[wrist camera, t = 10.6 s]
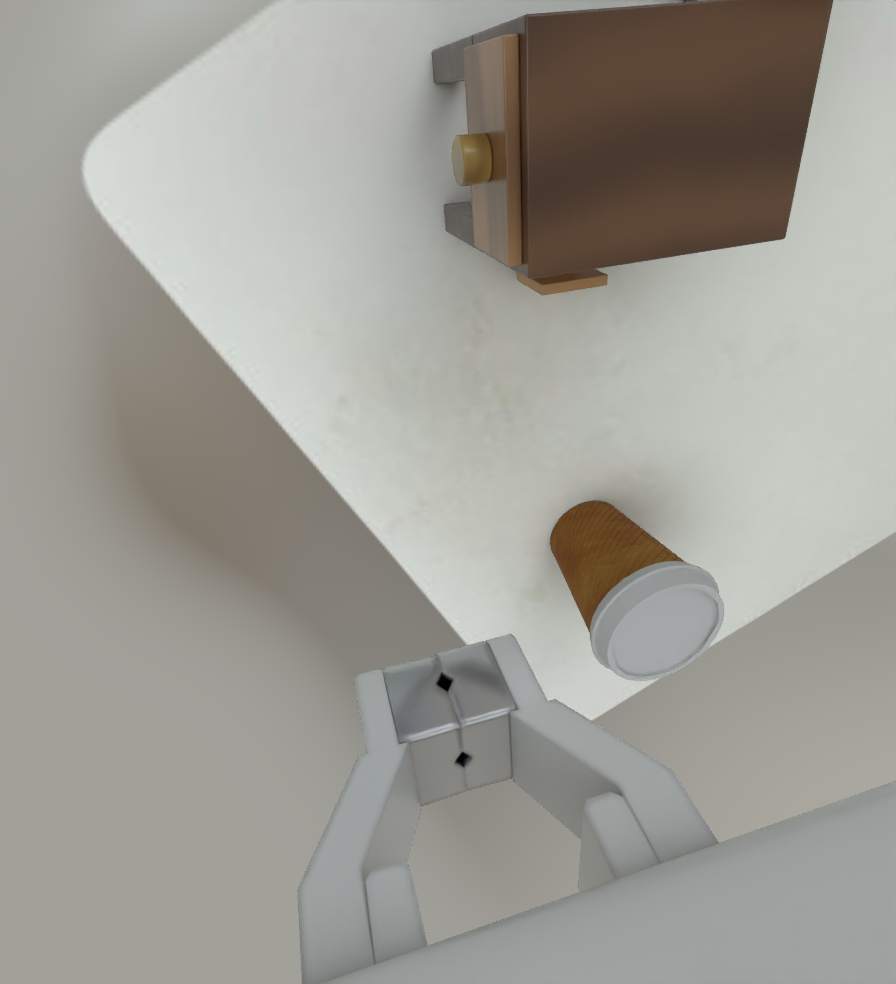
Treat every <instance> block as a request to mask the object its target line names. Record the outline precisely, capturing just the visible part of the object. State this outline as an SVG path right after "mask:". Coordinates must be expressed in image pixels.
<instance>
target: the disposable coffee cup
mask: <svg viewBox="0 0 896 984" xmlns="http://www.w3.org/2000/svg"><path fill="white" fill-rule="evenodd" d="M550 545H551V550H552V552H553V554H554V556H555V558H556V560H557V562H558V564H559V567H560V569H561V571H562V573H563V575H564V578H565V580H566V582H567V584H568V587H569V589H570V591H571V593H572V595H573V597H574V600H575V602H576V604H577V606H578V608H579V610H580V613H581V615H582V617H583V619H584V621H585V624H586V626H587V628H588V630H589V632H590V640H591V646H592V651H593V653H594V655H595V657H596V658H597V660H598V661H599V662H600V663H601V664H602V665H603V666H605V667H606V668H608V669H611V670H613V671H614V672H615V673H616V674H617V675H619V676H621V677H623V678H625V679H628V680H634V681H645V680H654V679H657V678H660V677H663V676H667V675H669V674H672V673H674V672H675V671H677V670H679V669H681V668H683V667H685V666H686V665H688V664H689V663H691V662H692V661H694V660H695V659H696V658H697V657H698V656H699V655H700V654H701V653H702V652H703V651H704V650H705V649H706V648H708V646H709V645H710V644H711V642H712V641H713V640H714V638H715V637H716V635H717V633H718V631H719V630H720V627H721V625H722V622H723V617H724V604H723V601H722V599H721V597H720V595H719V590H718V586H717V583H716V582H715V580H714V578H713V577H712V576H711V575H710V574H709V573H708V572H707V571H705V570H703V569H701V568H700V567H697V566H694V565H691V564H689V563H686V562H684V561H683V560H682V559H681V558H679V557H678V556H677V555H676V554H674V553H672V551H670V550H669V549H668V548H667V549H666V547H665V546H664V545H663V544H661V543H660V542H659V541H657V540H656V539H655V538H654V537H652V536H650V534H648V533H647V532H645V530H643V529H642V528H640V527H639V526H638V525H637V524H635V523H634V522H633V521H630V519H629V518H628V517H626V516H625V515H624V514H622V513H621V512H620V511H618V510H617V509H616V508H615V507H614V506H612V505H611V504H609V503H607V502H602V501H590V502H585V503H583V504H580V505H578V506H576V507H574V508H572V509H571V510H569V511H568V512H567V513H566V514H564V515H563V516H562V517H561V518H560V520H559V521H558V523H557V524H556V525H555V527H554V530H553V532H552V535H551V541H550Z"/></svg>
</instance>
